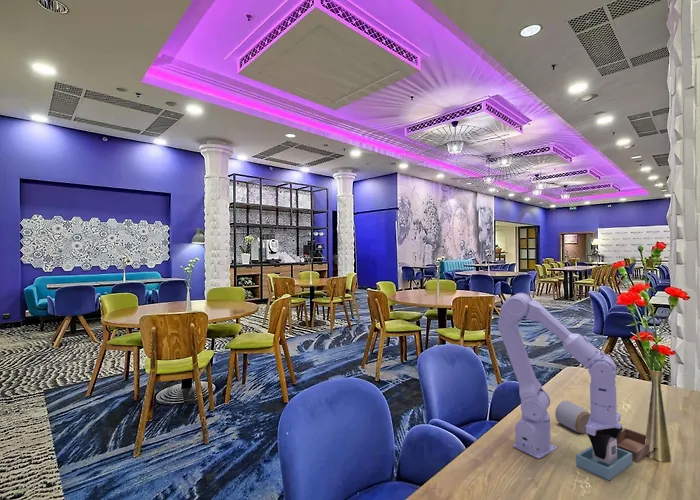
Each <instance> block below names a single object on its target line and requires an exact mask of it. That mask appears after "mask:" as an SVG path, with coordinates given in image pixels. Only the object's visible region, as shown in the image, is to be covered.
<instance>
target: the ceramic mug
mask: <svg viewBox="0 0 700 500" xmlns="http://www.w3.org/2000/svg"><path fill="white" fill-rule="evenodd" d="M554 415H555V419H556V421H557V422H558V423H559V424H560V425H563V426H564V427H567V428H568V429H570V430H572V431H574V432H576V433H578V434H587V433H586V432H585V427H586V425H587V424H588V421H589V417H590V416H591V413H590V412H589V411H587V410H586V409H585V408H582V407H580V406H578V405H577V404H575V403H573V402H572V401H569V400H563V401H561V402H559V403H558V404H557V406H556V408H555V413H554Z"/></svg>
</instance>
